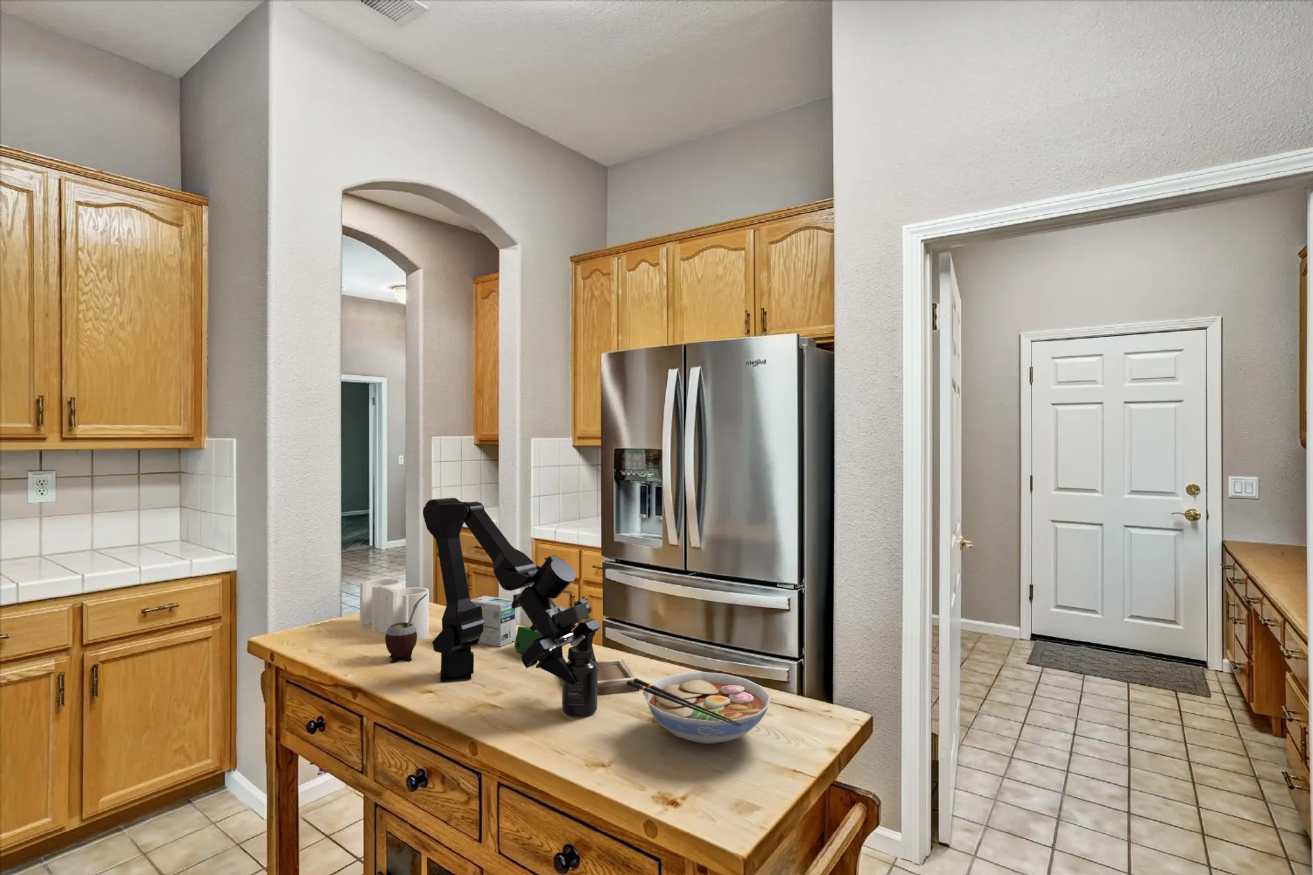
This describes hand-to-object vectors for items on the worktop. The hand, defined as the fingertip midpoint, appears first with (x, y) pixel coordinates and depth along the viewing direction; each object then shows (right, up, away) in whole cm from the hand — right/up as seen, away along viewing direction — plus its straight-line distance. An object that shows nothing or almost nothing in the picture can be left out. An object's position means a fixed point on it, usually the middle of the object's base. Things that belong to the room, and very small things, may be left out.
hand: (586, 678), depth 126 cm
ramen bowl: (+23, -7, -9) cm, 25 cm away
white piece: (-57, -6, +51) cm, 77 cm away
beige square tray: (+1, -7, +16) cm, 17 cm away
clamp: (-15, -7, +35) cm, 39 cm away
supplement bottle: (-1, -7, +1) cm, 7 cm away
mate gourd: (-46, -6, +29) cm, 55 cm away
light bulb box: (-29, -7, +43) cm, 53 cm away
